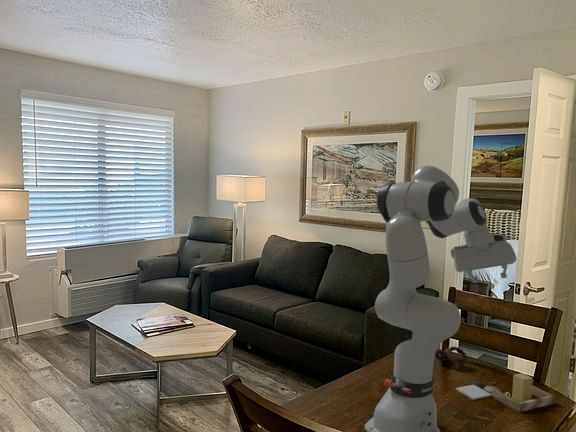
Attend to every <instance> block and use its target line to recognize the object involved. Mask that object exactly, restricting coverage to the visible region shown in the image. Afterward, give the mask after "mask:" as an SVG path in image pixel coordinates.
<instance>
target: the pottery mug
mask: <svg viewBox="0 0 576 432" xmlns="http://www.w3.org/2000/svg"><path fill="white" fill-rule="evenodd" d="M453 351H456V353H457V354H460V355H462V357H463V359H458V358H457V357H456V356H455V355H454V354H453V353H452V352H453ZM434 358H435V359H436V360H437V361H439V362H440V364H443V362H444V360H447V361H451V362H453V363H454V364H453V367H452V369H453V370H459V368H462V367H464V366H465V365H466V363H467V359H468V358H467V354H466V353H465V352H464V350H463V349H462V348H459V347H457V346H450V347H448V348H445V349H444V350H442V349H437V350H436V352H435V355H434ZM457 359H458V360H457Z"/></svg>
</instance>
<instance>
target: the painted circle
mask: <svg viewBox="0 0 576 432" xmlns="http://www.w3.org/2000/svg"><path fill="white" fill-rule="evenodd" d="M492 389H496V390H497V391H499V392H501V390H500V389H499V388H497V387H495V386H490V385H489V386H488V385H487V386H484V387H483V390H484V391H486V392H488V393H490V394H492Z"/></svg>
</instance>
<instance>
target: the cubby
mask: <svg viewBox="0 0 576 432" xmlns="http://www.w3.org/2000/svg"><path fill="white" fill-rule="evenodd" d="M491 395H492V396H491V397H492V398H494V399H496V400H497V401H499V402H501V403H503V404H505V405H506V406H508V407H510V408H512V409H513V410H515V411H517V412H519V413H520V412H524V411H525V412H526V411H529V410H534V409H538V408H539V409H540V408H542V407H546V406H547V407H548V406H550V405H551V406H552V405H555V403H556V396H555V395H553V394H551V393H549V392H547V391H545V390H543V389H540V388H538V387H536V386H535V385H532V392H531V395H534V396H535V397H536V398H533V399H532V398H531V400H528V401H523V402H519V401H517V400H515V399H514V398H512V396H511V397H510V396H509V395H507V394H506V393H505V394H504V392H502V391H500V392H499V391H497V390H496V389H492V393H491Z"/></svg>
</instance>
